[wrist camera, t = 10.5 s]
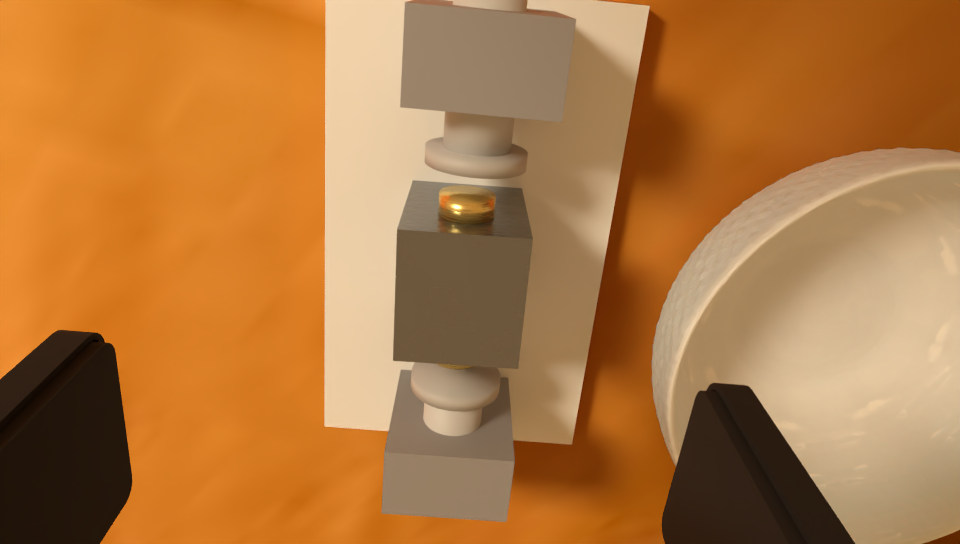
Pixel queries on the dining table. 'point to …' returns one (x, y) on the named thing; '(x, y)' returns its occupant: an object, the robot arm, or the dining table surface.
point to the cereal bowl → (836, 333)
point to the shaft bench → (477, 161)
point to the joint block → (461, 275)
